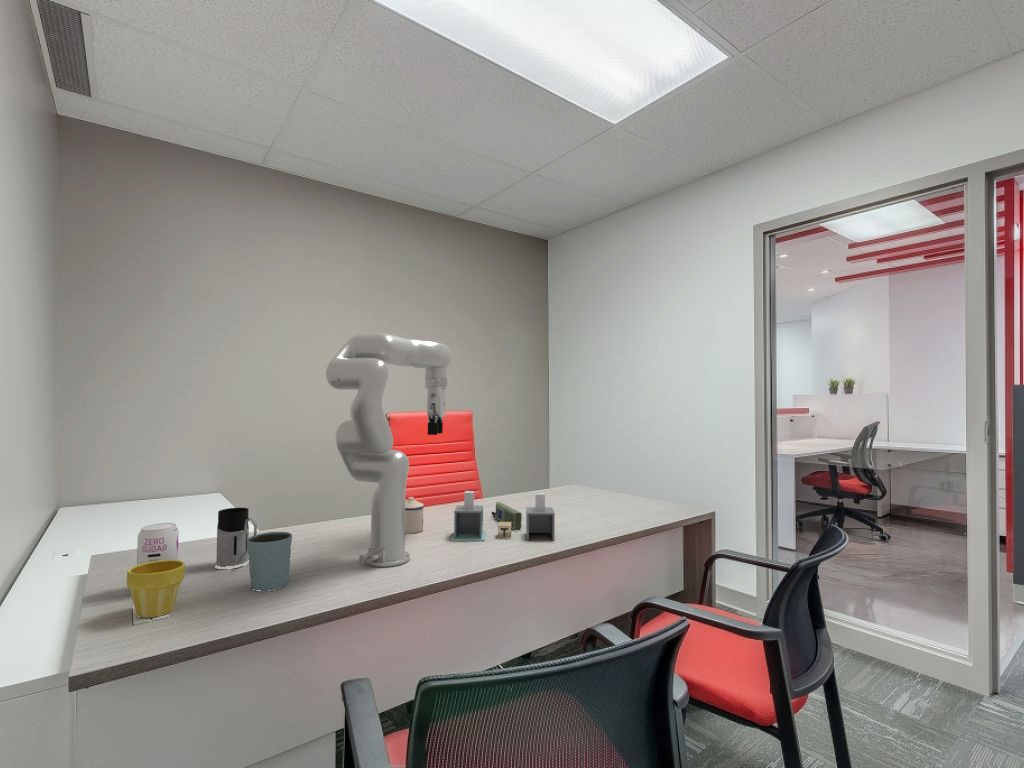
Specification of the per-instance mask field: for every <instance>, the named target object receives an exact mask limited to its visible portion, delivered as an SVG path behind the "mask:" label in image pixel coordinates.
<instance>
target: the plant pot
mask: <svg viewBox="0 0 1024 768" xmlns="http://www.w3.org/2000/svg"><path fill="white" fill-rule="evenodd" d="M185 571H186V564H185V561H183V560H179V559H178V560H160V561H153V562H148V563H143V564H140V565H137V564H136V565H134V566H131V567H130V568H128V570H127V571H126V587H127V588H128V589H130V593H131V597H132V601H133V606H134V611H135V615H136V616H137V617H138V616H140V617H139V618H141V617H151V618H156V617H155V616H157V617H160V616H159V615H161V616H163V615H162V614H164V615H166V614H165V613H167V614H169V613H171V612H172V611H173V610H174V608H175V603H176V600H177V596H178V592H179V588H180V586H181V582H182V581H183V580H184V579H185Z"/></svg>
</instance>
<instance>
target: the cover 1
mask: <svg viewBox="0 0 1024 768" xmlns="http://www.w3.org/2000/svg"><path fill="white" fill-rule="evenodd" d="M463 497H464V498H463V500H464V501H463V503H464V504H463V505H462V504H461V505H457V506H456V507H455V508H454V512H453V514H454V515H453V517H454V519H453V524H454V525H453V528H454V529H453V533H454V539H456V537H457V535H458V532H480V539H482V534H483V531H484V505H475V491H474V490H465V491H464V495H463Z"/></svg>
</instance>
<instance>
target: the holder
mask: <svg viewBox="0 0 1024 768" xmlns="http://www.w3.org/2000/svg"><path fill="white" fill-rule="evenodd" d="M249 511H250V509H249V508H247V507H230V508H224V509H220V510H218V512H217V514H218V515H217V528H216V530H217V531H216V559H215V564H216V565H217V566H220V567H226V566H235V565H239V564H243V563H245V562H247V561H248V560H249V556H248V547H247V539H248V538H249V537H250V526H249V522H250V521H252V523H253V535H252V536H254V535H258V533H257V531H258V524H257V521H256V519H255V518H253V517H249Z"/></svg>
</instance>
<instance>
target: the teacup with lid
mask: <svg viewBox="0 0 1024 768" xmlns="http://www.w3.org/2000/svg"><path fill="white" fill-rule="evenodd" d="M424 505H425V504H424V503H422V502H419V501H417V500H416V499H415V497H414V496H409V497H408V498H407V500H405V535H410V534H411V535H414V534H417V533H418V534H419V533H421V532H423V531H424V508H425V506H424Z"/></svg>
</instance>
